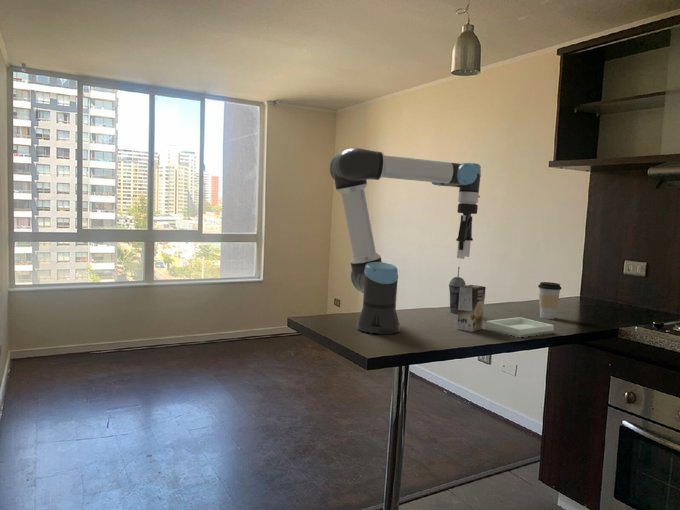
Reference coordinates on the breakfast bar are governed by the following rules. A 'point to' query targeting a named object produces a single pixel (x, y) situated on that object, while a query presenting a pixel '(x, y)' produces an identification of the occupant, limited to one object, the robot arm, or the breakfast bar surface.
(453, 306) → the beverage cup
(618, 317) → the breakfast bar surface
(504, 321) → the sage tray
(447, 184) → the robot arm
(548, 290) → the coffee cup
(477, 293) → the coffee box
